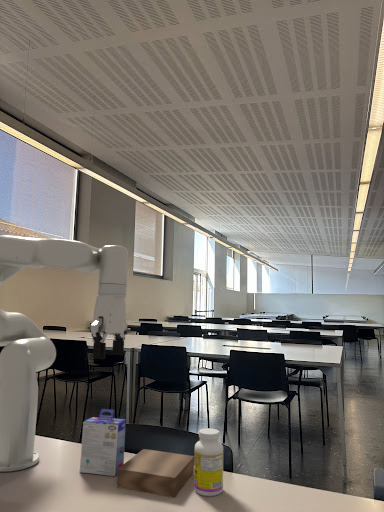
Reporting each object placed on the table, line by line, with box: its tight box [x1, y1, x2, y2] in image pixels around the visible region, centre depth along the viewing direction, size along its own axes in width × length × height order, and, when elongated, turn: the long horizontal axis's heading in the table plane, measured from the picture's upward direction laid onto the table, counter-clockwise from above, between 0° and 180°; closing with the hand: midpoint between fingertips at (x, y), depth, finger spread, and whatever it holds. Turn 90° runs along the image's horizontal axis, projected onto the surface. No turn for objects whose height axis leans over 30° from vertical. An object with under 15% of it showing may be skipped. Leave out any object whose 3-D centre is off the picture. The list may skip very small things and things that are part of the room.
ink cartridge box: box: [79, 408, 127, 477], centre depth 98 cm, size 10×6×14 cm, turn 78°
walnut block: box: [116, 448, 195, 498], centre depth 93 cm, size 14×14×4 cm
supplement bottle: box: [193, 428, 224, 497], centre depth 89 cm, size 7×7×13 cm
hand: (108, 356), depth 101 cm, fingers open, 9 cm apart
